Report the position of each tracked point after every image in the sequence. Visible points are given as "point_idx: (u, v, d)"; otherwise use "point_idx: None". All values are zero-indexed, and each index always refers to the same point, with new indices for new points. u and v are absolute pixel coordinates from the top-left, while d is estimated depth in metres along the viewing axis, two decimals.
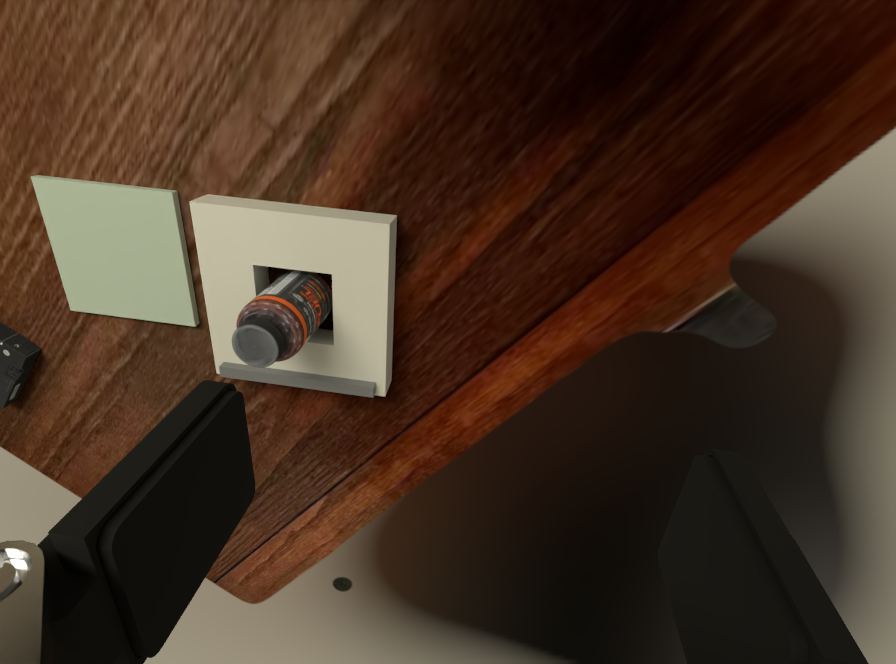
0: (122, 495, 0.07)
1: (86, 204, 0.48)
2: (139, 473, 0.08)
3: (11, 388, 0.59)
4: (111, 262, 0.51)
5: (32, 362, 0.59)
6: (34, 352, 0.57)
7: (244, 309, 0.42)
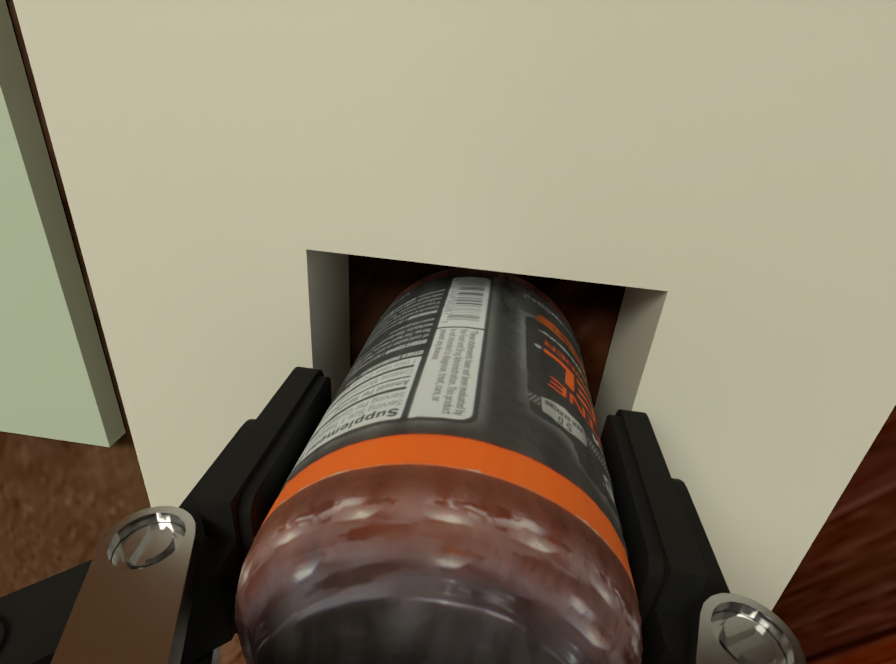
0: (251, 467, 0.08)
1: None
2: (262, 448, 0.08)
3: None
4: None
5: None
6: None
7: (288, 541, 0.06)
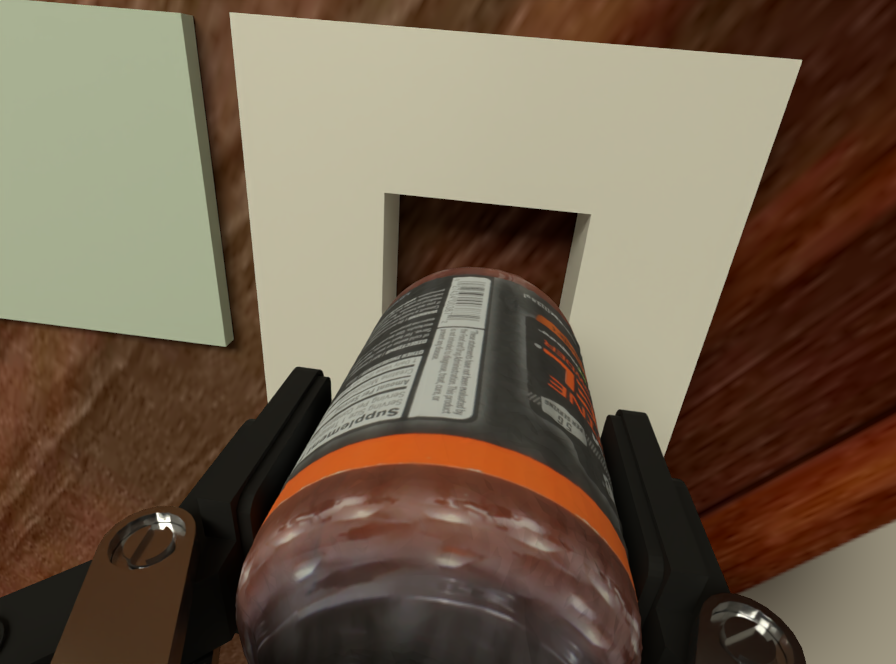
0: (251, 467, 0.08)
1: None
2: (262, 448, 0.08)
3: None
4: (40, 202, 0.23)
5: None
6: None
7: (289, 541, 0.06)
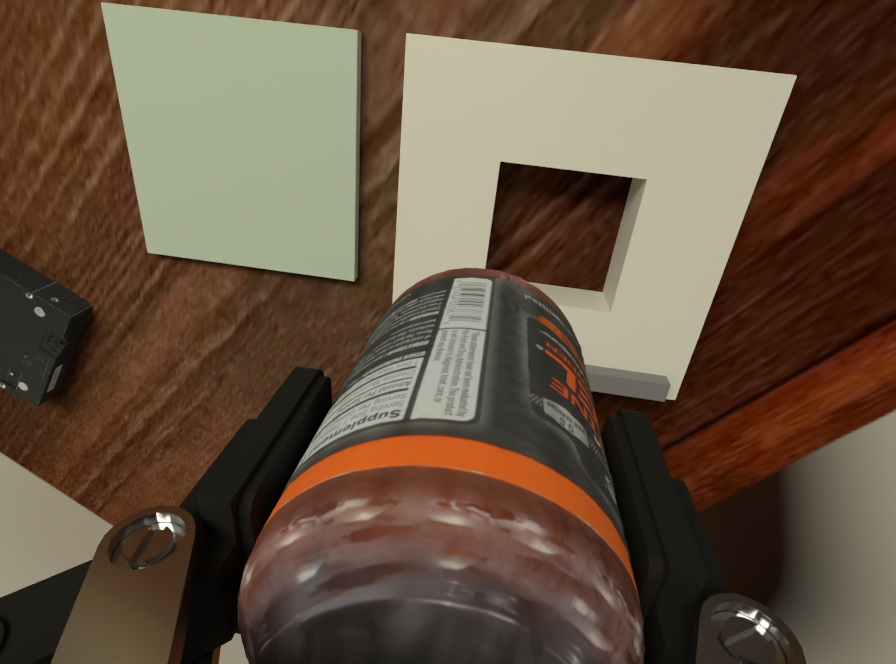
0: (252, 467, 0.08)
1: (196, 56, 0.28)
2: (262, 448, 0.08)
3: (50, 372, 0.38)
4: (227, 166, 0.30)
5: (79, 329, 0.37)
6: (82, 310, 0.36)
7: (291, 543, 0.06)
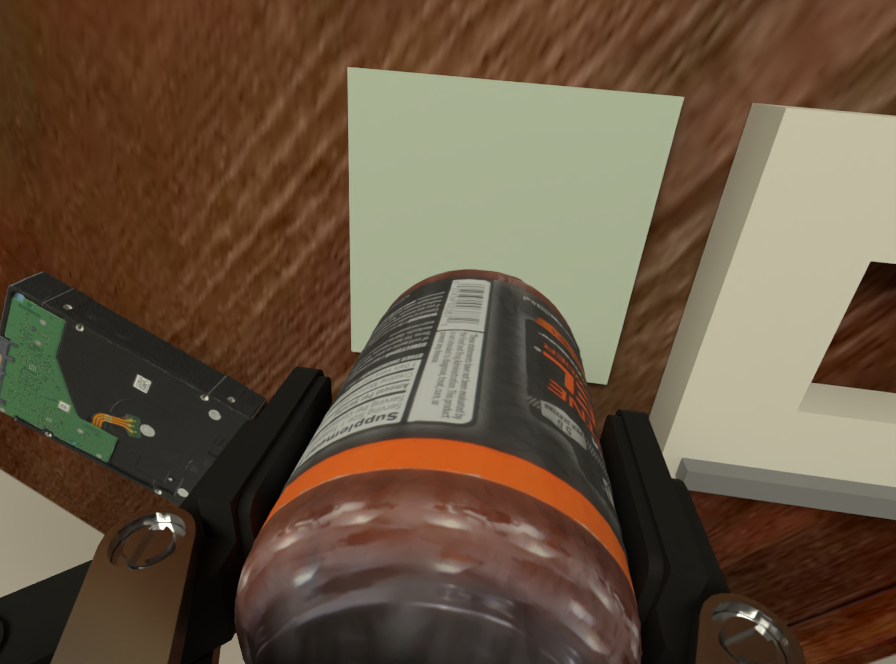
0: (252, 467, 0.08)
1: (460, 130, 0.22)
2: (262, 448, 0.08)
3: None
4: (473, 257, 0.25)
5: None
6: (259, 409, 0.31)
7: (288, 546, 0.06)
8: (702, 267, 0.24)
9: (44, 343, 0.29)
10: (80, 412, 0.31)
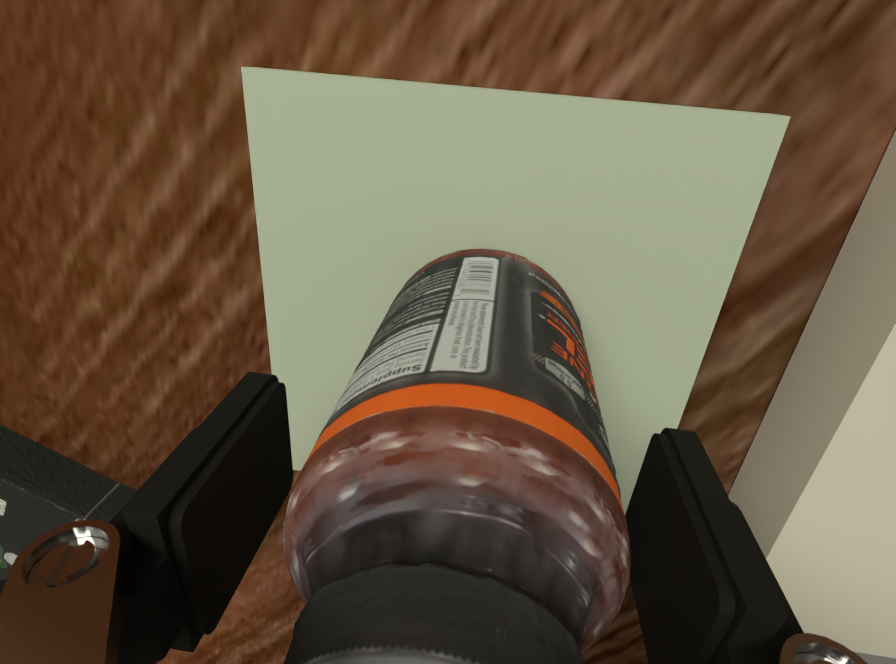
0: (186, 478, 0.08)
1: (424, 167, 0.14)
2: (199, 457, 0.08)
3: None
4: None
5: None
6: None
7: (333, 469, 0.07)
8: (794, 369, 0.16)
9: None
10: None
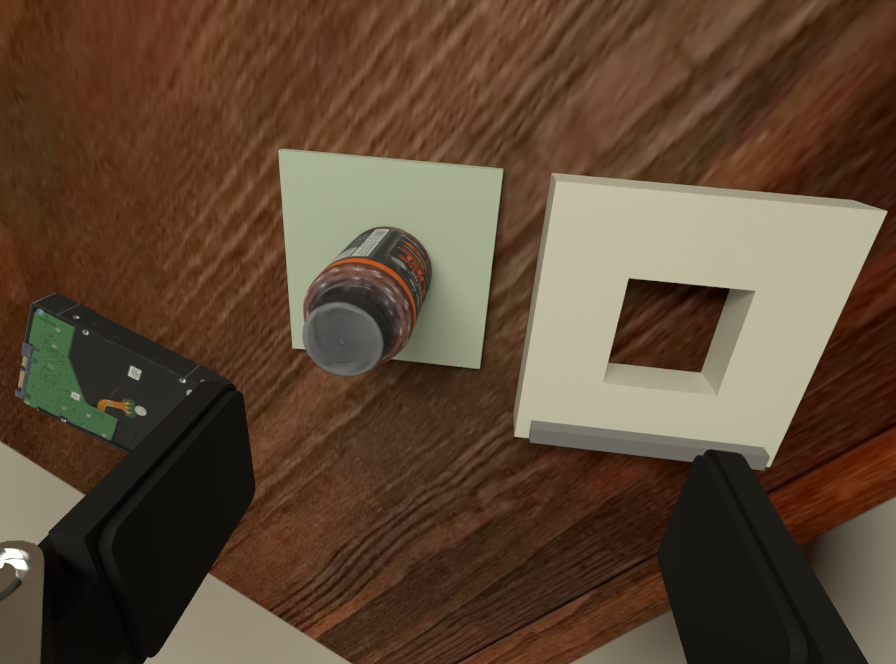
0: (122, 495, 0.07)
1: (357, 191, 0.32)
2: (139, 473, 0.08)
3: None
4: None
5: None
6: None
7: (319, 280, 0.25)
8: (534, 282, 0.34)
9: (59, 346, 0.38)
10: (88, 399, 0.40)
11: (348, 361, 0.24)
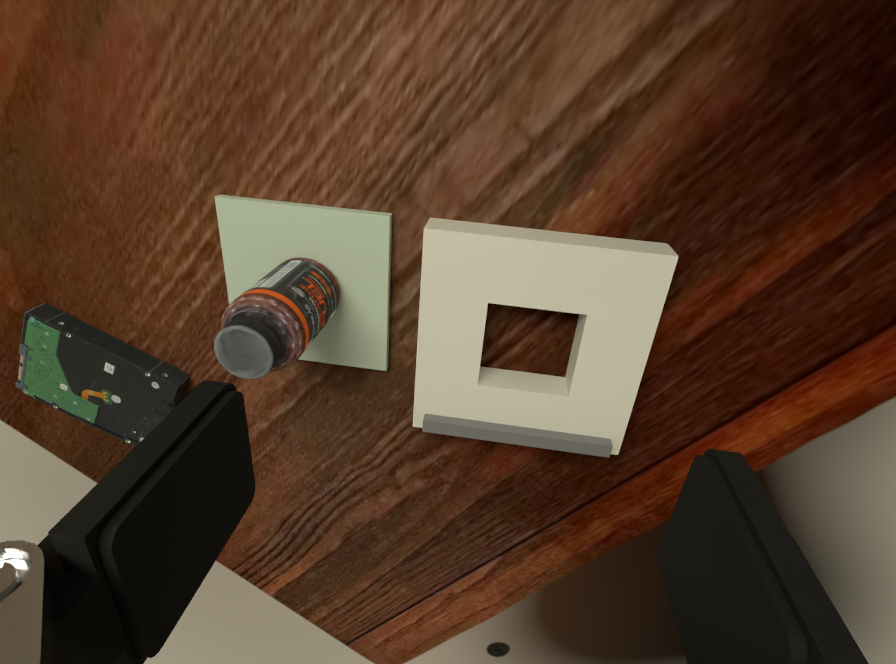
0: (122, 495, 0.07)
1: (278, 229, 0.40)
2: (139, 473, 0.08)
3: None
4: None
5: (182, 394, 0.50)
6: (184, 380, 0.48)
7: (230, 306, 0.34)
8: None
9: (48, 346, 0.47)
10: (74, 389, 0.49)
11: (248, 368, 0.33)
